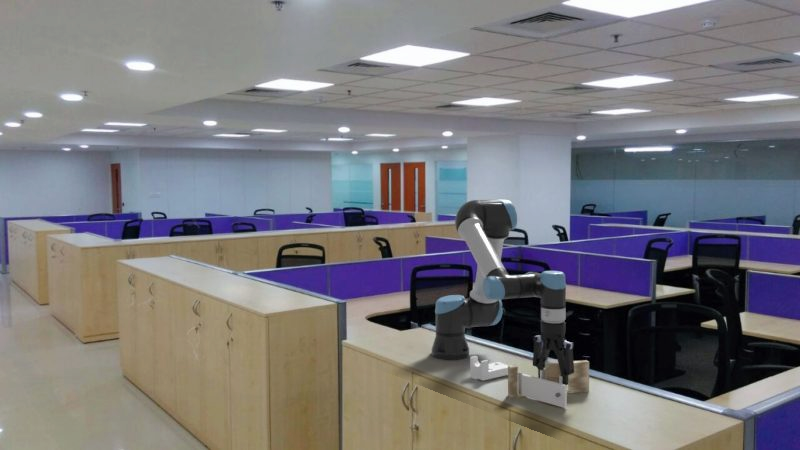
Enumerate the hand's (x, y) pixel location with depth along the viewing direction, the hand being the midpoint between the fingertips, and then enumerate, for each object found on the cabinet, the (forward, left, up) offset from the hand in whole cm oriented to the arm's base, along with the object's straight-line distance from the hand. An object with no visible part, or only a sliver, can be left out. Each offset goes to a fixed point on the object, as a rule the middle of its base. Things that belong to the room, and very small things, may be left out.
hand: (552, 391), depth 193 cm
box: (0, 0, -1) cm, 1 cm away
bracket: (-26, -12, -3) cm, 29 cm away
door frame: (-5, +1, -2) cm, 6 cm away
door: (+2, -5, -2) cm, 5 cm away
